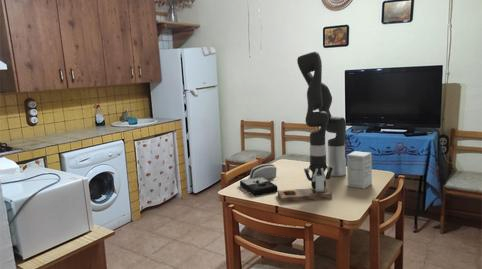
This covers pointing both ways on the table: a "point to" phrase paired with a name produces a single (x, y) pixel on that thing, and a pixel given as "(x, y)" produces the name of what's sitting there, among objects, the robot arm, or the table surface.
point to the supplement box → (359, 169)
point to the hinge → (263, 171)
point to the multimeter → (258, 186)
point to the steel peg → (319, 184)
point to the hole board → (303, 195)
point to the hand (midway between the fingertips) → (318, 187)
